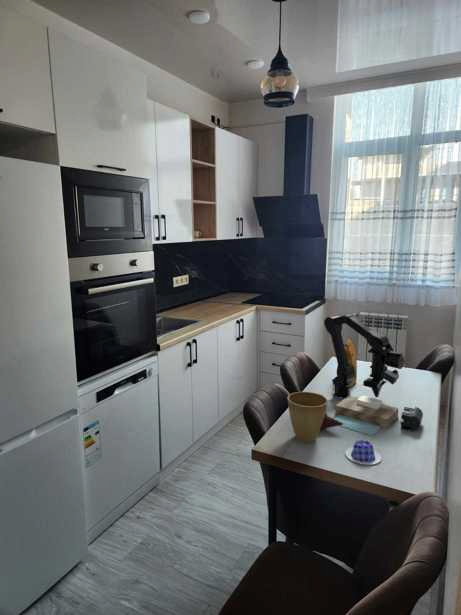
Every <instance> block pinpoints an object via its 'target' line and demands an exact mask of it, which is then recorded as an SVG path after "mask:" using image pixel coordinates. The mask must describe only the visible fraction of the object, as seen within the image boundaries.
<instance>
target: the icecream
mask: <svg viewBox="0 0 461 615" xmlns="http://www.w3.org/2000/svg"><path fill="white" fill-rule="evenodd" d="M340 425H343V423H341V422H339V421H337V420H335V419H334V418H333V417H331V416H329V415H328V414H327V413H326V412H325V416H324V419H323V422H322V425H321V428H320V431H321V430H322V431H327V429H329V428H330V429H331V428H334V427H341V426H340Z"/></svg>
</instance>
